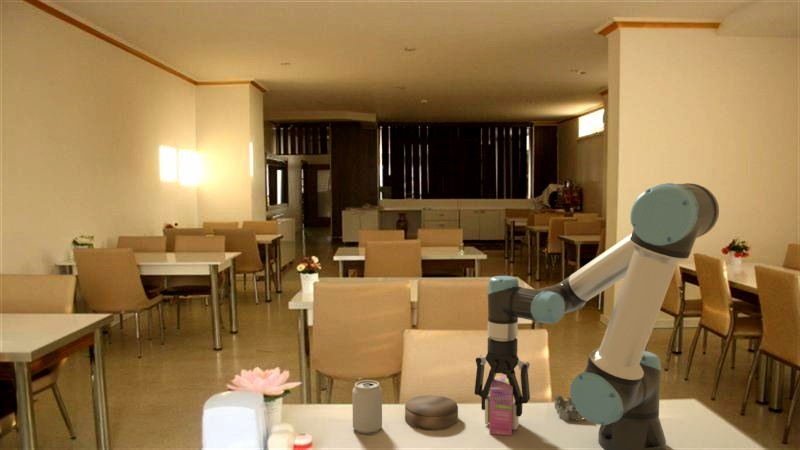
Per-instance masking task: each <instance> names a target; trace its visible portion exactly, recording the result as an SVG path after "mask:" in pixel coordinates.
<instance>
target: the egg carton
mask: <svg viewBox="0 0 800 450" xmlns="http://www.w3.org/2000/svg"><path fill="white" fill-rule="evenodd" d="M554 397H555V400H554V403H553V404H554V409H556V414H558V418H559V419H561V420H563V421H569V420H572V419H571V418H574V419H573V420H576V419H577V420H576V421H578V420H582V418H584V417H583V416H581V415H580V413H579V412H578V411H577V410H576V408H575V405H574V403H573V402H572V399H571V397H569V396H567V398H566V399H564V398H563V396H562V395H560V394H557V393H556V392H555V393H554ZM564 408H565V409H564ZM582 421H583V420H582Z"/></svg>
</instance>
